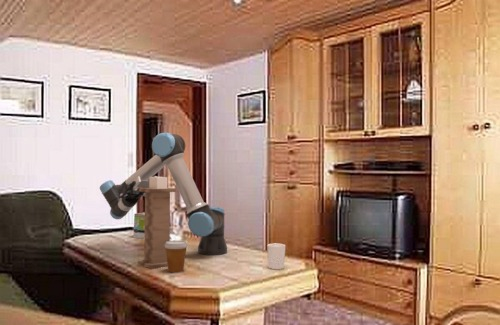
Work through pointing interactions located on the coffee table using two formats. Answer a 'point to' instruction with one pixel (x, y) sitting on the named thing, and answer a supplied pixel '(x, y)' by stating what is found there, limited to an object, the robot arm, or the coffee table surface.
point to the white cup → (276, 255)
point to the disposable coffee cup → (175, 255)
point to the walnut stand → (156, 226)
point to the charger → (154, 183)
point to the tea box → (139, 225)
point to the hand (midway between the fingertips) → (148, 178)
